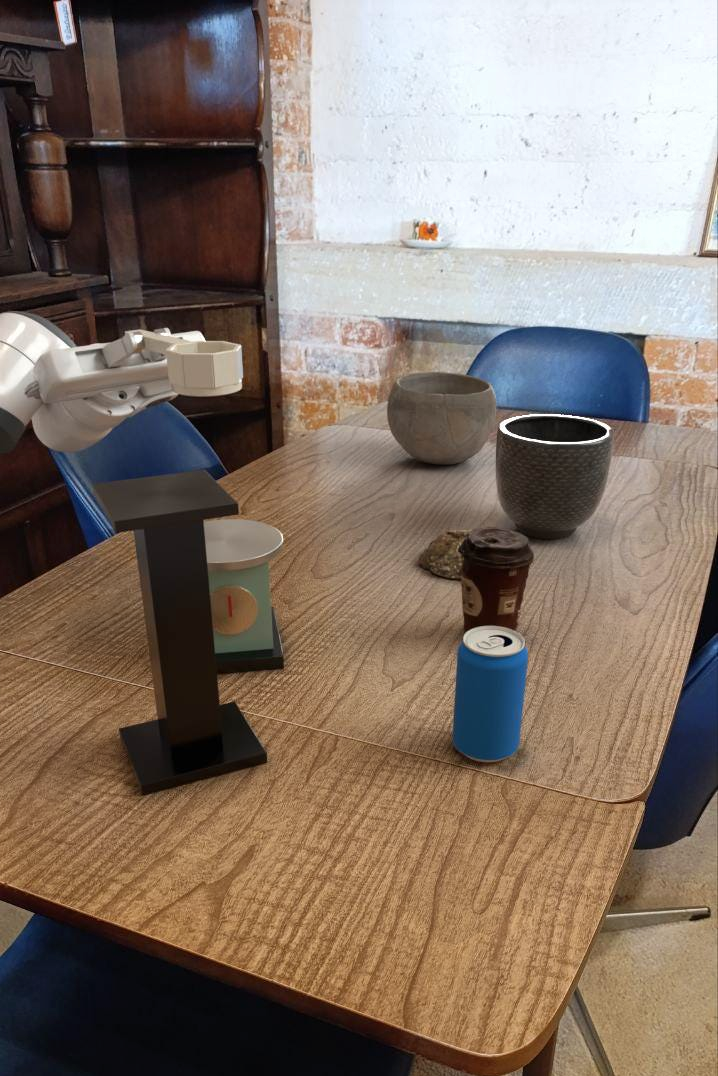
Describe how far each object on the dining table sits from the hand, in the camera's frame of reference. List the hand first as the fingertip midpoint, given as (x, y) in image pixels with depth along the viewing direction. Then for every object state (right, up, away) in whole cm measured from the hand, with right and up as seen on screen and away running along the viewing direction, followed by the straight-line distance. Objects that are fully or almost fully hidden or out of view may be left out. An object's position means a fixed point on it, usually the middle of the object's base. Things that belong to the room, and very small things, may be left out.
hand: (151, 336), depth 93 cm
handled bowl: (+3, -5, -1) cm, 6 cm away
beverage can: (+34, -43, -7) cm, 55 cm away
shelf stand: (+6, -43, -7) cm, 44 cm away
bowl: (+38, +3, +79) cm, 87 cm away
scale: (+7, -33, +12) cm, 35 cm away
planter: (+51, -15, +45) cm, 70 cm away
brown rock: (+37, -21, +33) cm, 54 cm away
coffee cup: (+38, -32, +14) cm, 51 cm away
